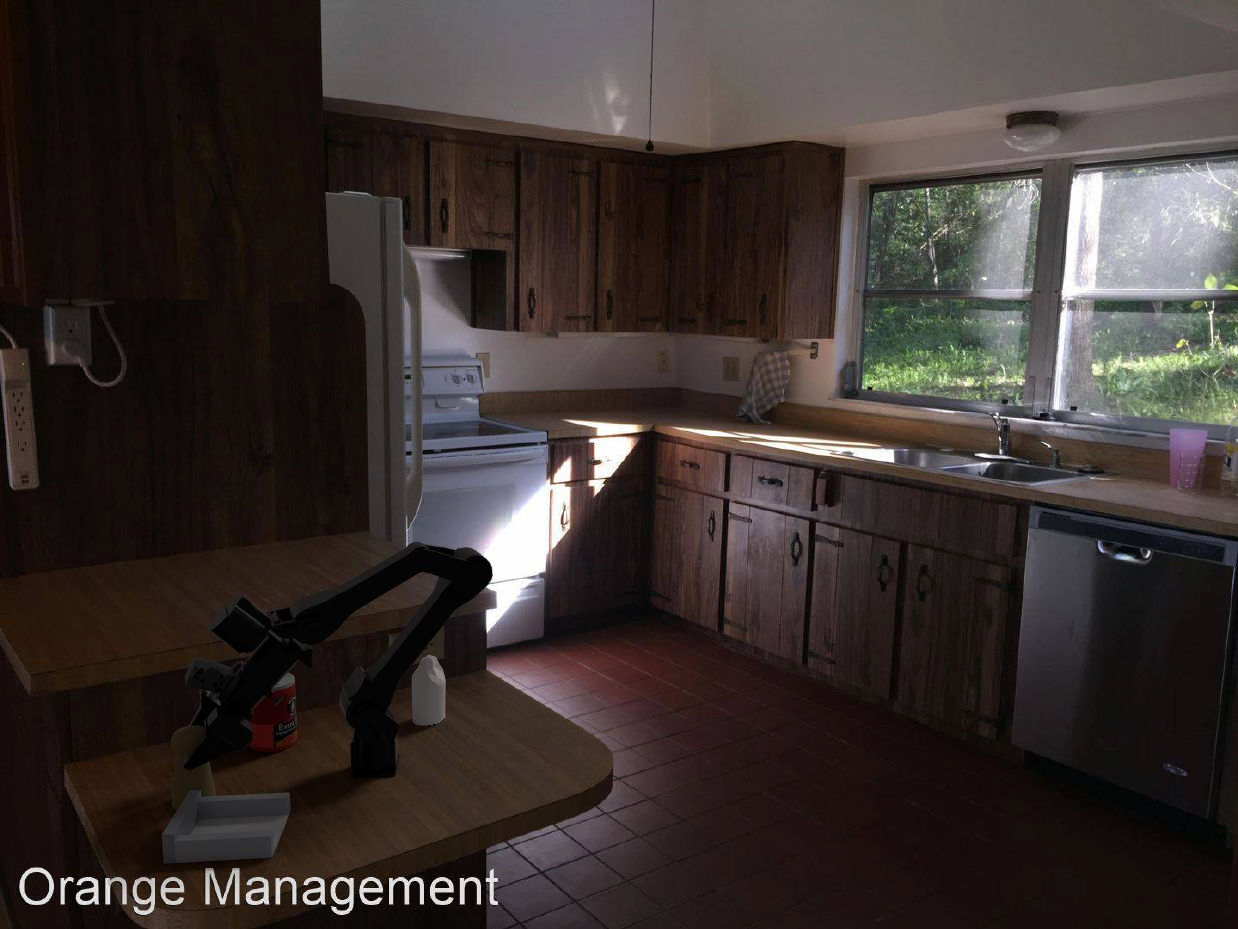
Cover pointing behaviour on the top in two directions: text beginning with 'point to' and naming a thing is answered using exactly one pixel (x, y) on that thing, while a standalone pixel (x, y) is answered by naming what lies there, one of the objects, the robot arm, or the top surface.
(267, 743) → the canned food
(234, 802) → the shallow grey tray
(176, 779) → the olive rounded tall piece
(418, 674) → the white milk jug
